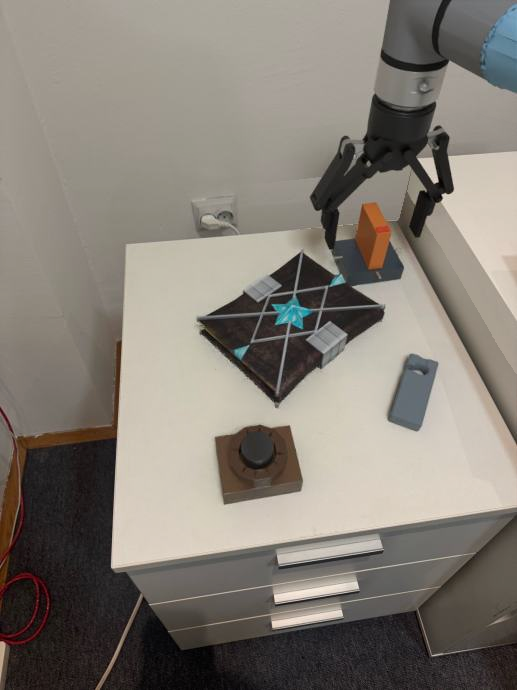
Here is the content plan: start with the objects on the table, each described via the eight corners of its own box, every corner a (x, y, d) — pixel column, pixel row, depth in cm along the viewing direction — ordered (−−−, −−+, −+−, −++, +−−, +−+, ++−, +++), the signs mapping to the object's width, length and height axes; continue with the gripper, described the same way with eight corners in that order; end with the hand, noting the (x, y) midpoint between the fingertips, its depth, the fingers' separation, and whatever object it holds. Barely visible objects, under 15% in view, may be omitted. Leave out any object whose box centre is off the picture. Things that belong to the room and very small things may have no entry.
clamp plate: (386, 238, 83) (389, 226, 80) (411, 285, 76) (415, 272, 74) (322, 247, 81) (324, 234, 79) (342, 295, 75) (344, 283, 73)
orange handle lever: (354, 239, 79) (362, 202, 73) (367, 238, 79) (376, 200, 73) (368, 269, 74) (377, 232, 69) (382, 268, 75) (392, 230, 69)
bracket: (387, 421, 62) (390, 413, 60) (406, 360, 67) (410, 351, 66) (418, 433, 61) (422, 425, 59) (435, 369, 66) (439, 361, 65)
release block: (288, 437, 60) (290, 417, 56) (301, 491, 56) (304, 474, 52) (216, 448, 59) (213, 429, 55) (224, 504, 55) (221, 488, 51)
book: (277, 409, 63) (278, 389, 59) (196, 334, 70) (192, 311, 66) (383, 321, 71) (390, 298, 67) (300, 263, 79) (303, 239, 75)
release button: (270, 435, 55) (270, 428, 54) (276, 465, 53) (277, 458, 52) (239, 441, 55) (238, 433, 54) (244, 470, 53) (243, 464, 51)
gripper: (310, 123, 53) (298, 265, 70) (519, 101, 56) (459, 243, 73) (294, 91, 58) (286, 232, 75) (488, 72, 61) (438, 212, 78)
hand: (372, 237), depth 74 cm, fingers open, 13 cm apart
